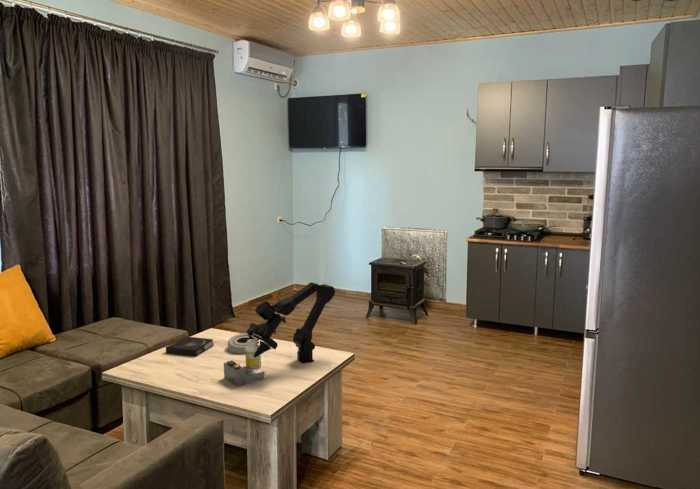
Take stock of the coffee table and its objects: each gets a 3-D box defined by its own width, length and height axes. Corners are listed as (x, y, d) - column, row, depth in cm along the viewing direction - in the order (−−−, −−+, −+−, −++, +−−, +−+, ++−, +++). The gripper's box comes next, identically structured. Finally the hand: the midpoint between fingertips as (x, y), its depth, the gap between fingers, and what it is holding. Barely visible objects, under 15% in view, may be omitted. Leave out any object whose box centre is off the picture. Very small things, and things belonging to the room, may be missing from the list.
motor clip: (251, 370, 247) (250, 353, 246) (264, 378, 238) (264, 360, 237) (224, 378, 238) (223, 360, 237) (237, 386, 229) (236, 368, 228)
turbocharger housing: (225, 356, 268) (255, 356, 268) (224, 344, 266) (254, 344, 266) (232, 342, 284) (260, 342, 284) (231, 331, 283) (260, 331, 283)
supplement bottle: (250, 365, 245) (249, 337, 243) (263, 366, 242) (262, 338, 241) (243, 370, 238) (241, 342, 237) (256, 371, 236) (255, 343, 234)
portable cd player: (196, 358, 264) (195, 350, 263) (166, 354, 268) (165, 346, 268) (213, 346, 279) (213, 339, 279) (185, 343, 284) (184, 336, 283)
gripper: (249, 311, 246) (228, 339, 241) (270, 320, 232) (249, 351, 227) (264, 324, 253) (244, 352, 247) (286, 334, 238) (265, 364, 233)
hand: (250, 354), depth 239 cm, fingers closed on supplement bottle, 7 cm apart
